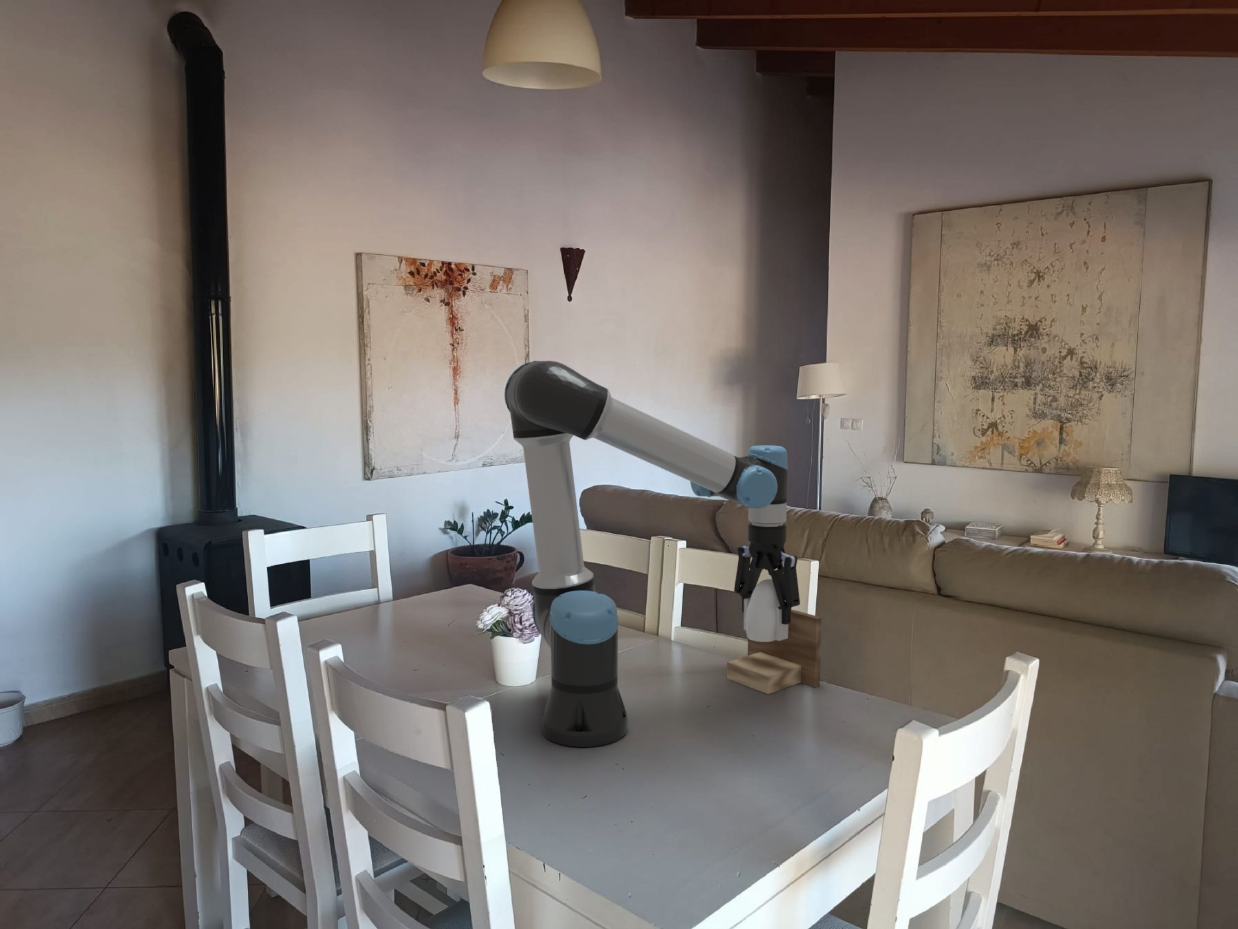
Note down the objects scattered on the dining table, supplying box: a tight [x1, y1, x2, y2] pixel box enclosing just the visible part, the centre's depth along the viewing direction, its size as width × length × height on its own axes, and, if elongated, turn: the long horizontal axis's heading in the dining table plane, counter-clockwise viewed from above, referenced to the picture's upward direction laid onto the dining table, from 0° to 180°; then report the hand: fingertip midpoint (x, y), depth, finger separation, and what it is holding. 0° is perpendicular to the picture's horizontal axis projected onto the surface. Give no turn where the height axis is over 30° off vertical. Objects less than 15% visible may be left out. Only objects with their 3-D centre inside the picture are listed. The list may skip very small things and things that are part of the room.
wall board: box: [726, 608, 822, 695], centre depth 175 cm, size 12×18×14 cm, turn 39°
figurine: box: [745, 578, 780, 642], centre depth 174 cm, size 7×8×12 cm
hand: (765, 633), depth 174 cm, fingers closed on figurine, 8 cm apart
